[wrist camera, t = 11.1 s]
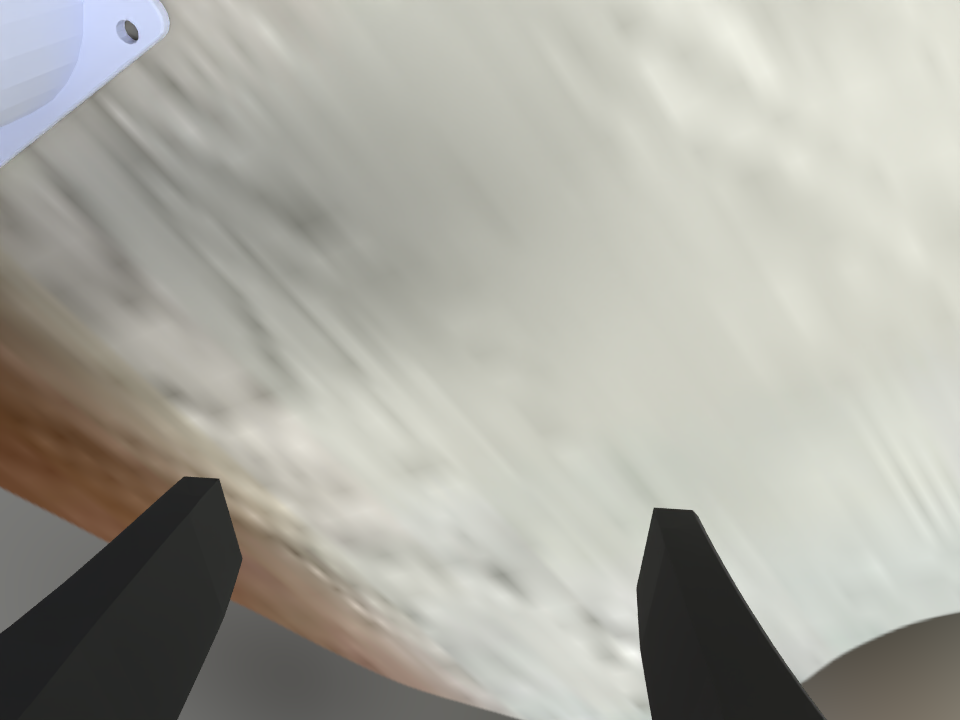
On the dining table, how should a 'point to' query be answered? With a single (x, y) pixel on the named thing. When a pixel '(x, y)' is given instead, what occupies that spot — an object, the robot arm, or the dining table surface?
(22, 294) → the dining table surface
